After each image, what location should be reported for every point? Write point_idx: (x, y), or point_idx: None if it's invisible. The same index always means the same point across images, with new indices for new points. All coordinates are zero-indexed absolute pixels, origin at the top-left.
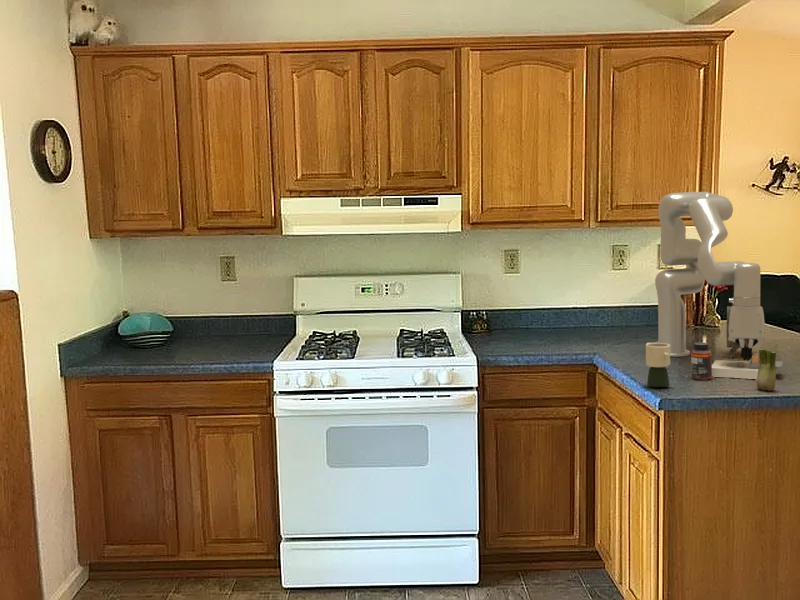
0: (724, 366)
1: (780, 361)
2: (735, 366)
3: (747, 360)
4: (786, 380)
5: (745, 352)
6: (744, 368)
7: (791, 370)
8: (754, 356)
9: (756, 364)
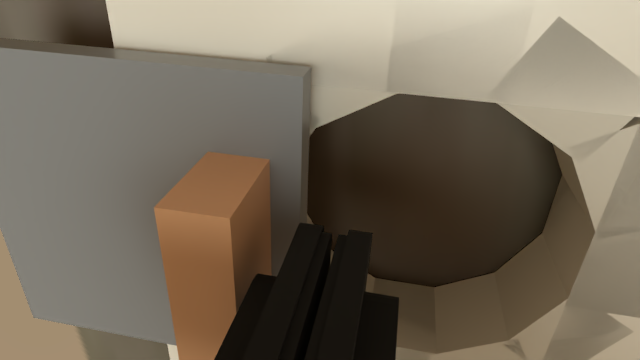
0: (634, 150)
1: (50, 319)
2: (454, 320)
3: (319, 227)
4: (12, 14)
5: (324, 311)
6: (367, 60)
7: (96, 355)
8: (195, 213)
9: (215, 142)
